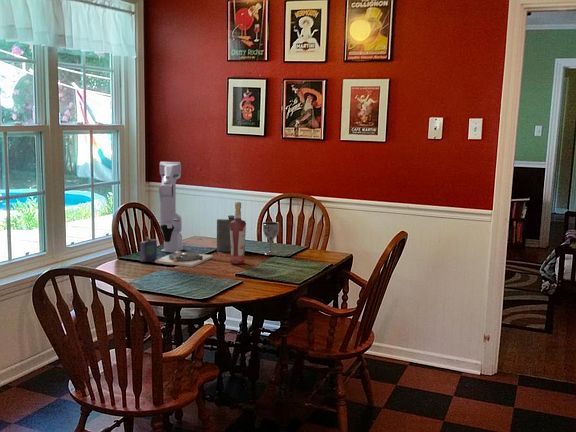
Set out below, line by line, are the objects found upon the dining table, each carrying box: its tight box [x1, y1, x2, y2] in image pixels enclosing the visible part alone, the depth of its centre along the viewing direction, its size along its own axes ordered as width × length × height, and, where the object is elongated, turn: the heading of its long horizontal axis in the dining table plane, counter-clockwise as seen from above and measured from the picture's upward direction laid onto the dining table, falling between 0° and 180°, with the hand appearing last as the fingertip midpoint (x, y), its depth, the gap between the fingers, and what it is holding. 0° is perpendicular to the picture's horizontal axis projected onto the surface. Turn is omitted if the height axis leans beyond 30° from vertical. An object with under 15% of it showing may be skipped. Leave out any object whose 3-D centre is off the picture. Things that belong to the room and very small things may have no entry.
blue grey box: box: [139, 236, 158, 263], centre depth 279 cm, size 9×3×11 cm, turn 146°
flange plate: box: [168, 250, 200, 262], centre depth 280 cm, size 16×14×4 cm
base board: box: [154, 252, 214, 268], centre depth 281 cm, size 20×19×3 cm
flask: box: [216, 214, 246, 254], centre depth 299 cm, size 4×14×18 cm, turn 79°
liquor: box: [229, 201, 247, 266], centre depth 275 cm, size 7×7×28 cm
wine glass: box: [262, 221, 280, 256], centre depth 298 cm, size 8×8×15 cm
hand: (167, 241), depth 271 cm, fingers closed
